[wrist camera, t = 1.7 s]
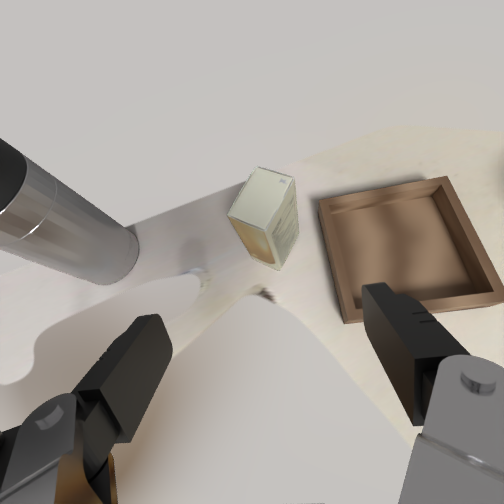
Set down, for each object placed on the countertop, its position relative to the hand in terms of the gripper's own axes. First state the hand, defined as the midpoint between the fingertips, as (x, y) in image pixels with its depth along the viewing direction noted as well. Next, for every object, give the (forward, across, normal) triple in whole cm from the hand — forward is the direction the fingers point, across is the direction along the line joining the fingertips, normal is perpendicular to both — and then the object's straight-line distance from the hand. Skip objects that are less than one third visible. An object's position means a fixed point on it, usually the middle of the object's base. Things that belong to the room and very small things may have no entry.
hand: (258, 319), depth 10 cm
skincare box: (+24, 0, +6) cm, 25 cm away
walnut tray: (+22, -14, +9) cm, 27 cm away
